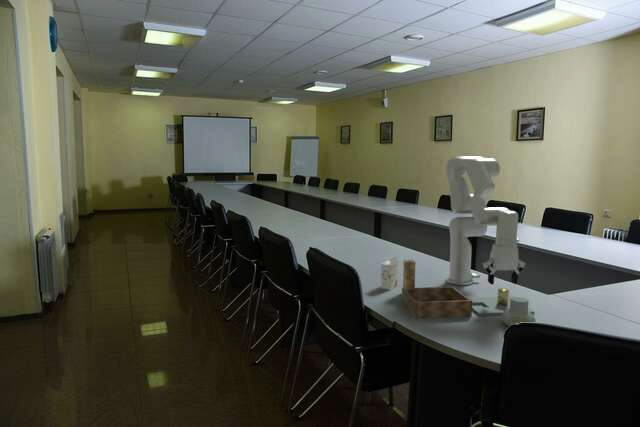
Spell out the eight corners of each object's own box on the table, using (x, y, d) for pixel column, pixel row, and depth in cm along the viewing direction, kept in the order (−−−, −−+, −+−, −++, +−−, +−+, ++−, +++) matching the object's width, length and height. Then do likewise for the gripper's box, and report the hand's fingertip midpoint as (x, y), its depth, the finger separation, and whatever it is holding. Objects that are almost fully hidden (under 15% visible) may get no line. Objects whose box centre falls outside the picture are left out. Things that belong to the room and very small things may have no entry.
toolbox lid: (509, 298, 182) (510, 282, 181) (534, 314, 164) (535, 296, 163) (459, 300, 180) (460, 284, 179) (479, 315, 162) (480, 298, 161)
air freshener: (501, 328, 150) (503, 301, 149) (500, 320, 158) (502, 294, 157) (536, 333, 147) (538, 305, 145) (533, 324, 154) (535, 297, 153)
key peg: (411, 292, 190) (412, 259, 189) (414, 295, 187) (415, 261, 185) (402, 292, 190) (403, 259, 188) (405, 295, 186) (406, 262, 184)
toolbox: (452, 300, 180) (453, 286, 179) (471, 316, 162) (472, 300, 161) (401, 302, 178) (401, 288, 177) (415, 318, 160) (415, 302, 159)
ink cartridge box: (387, 283, 204) (388, 253, 202) (397, 285, 201) (398, 254, 199) (380, 288, 196) (380, 257, 194) (390, 290, 194) (391, 258, 192)
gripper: (521, 239, 174) (517, 279, 177) (480, 239, 172) (477, 280, 175) (532, 243, 166) (528, 285, 169) (489, 244, 165) (486, 286, 168)
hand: (502, 283), depth 172 cm, fingers open, 9 cm apart
